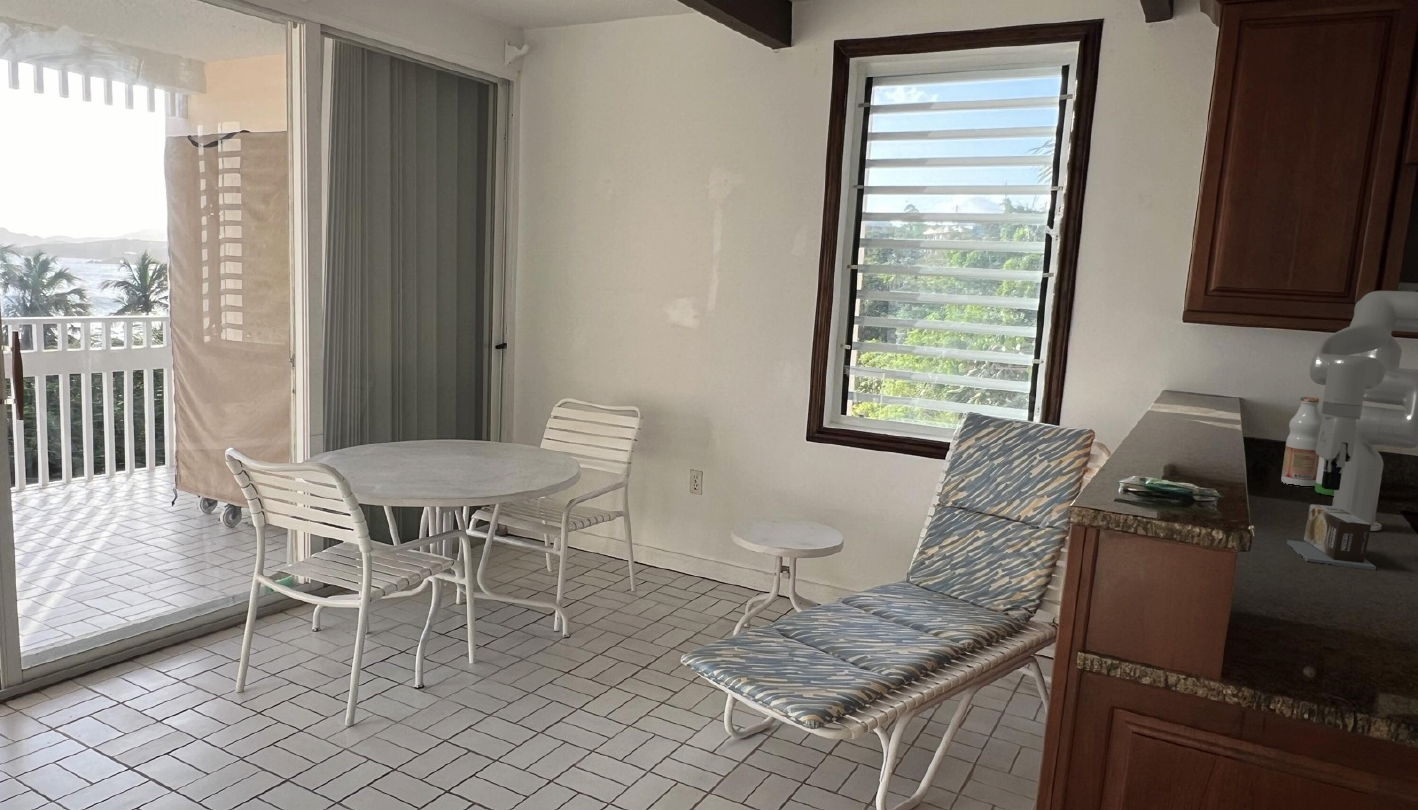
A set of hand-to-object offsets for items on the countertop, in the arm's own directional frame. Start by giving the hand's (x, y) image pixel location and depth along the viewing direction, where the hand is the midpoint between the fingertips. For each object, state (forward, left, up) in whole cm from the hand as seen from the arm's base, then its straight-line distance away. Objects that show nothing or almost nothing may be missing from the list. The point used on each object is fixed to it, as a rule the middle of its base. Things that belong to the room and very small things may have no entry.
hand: (1330, 488), depth 212 cm
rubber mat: (+5, 0, -15) cm, 16 cm away
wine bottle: (-75, +23, -15) cm, 80 cm away
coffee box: (-5, +1, -10) cm, 11 cm away
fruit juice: (-88, +18, -15) cm, 91 cm away
